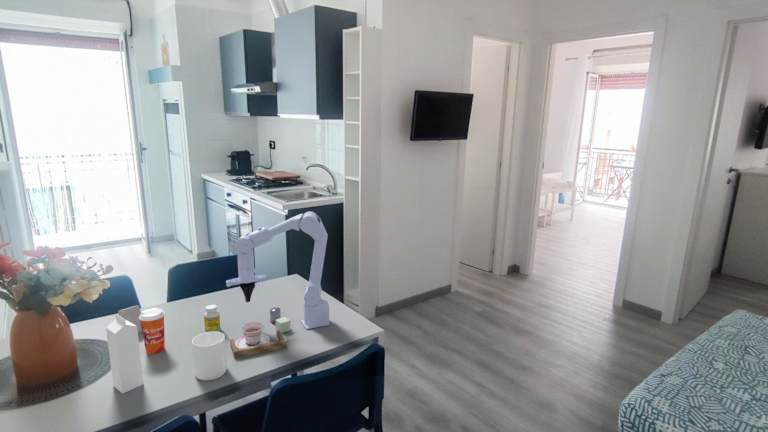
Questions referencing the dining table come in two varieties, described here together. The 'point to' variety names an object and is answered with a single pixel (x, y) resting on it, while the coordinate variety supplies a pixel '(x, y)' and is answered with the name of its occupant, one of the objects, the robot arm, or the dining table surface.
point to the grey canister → (274, 315)
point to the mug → (209, 355)
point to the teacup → (252, 335)
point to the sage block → (283, 324)
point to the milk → (124, 355)
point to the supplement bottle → (212, 318)
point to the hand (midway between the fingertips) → (247, 301)
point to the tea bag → (132, 316)
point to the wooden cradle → (258, 347)
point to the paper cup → (153, 330)
